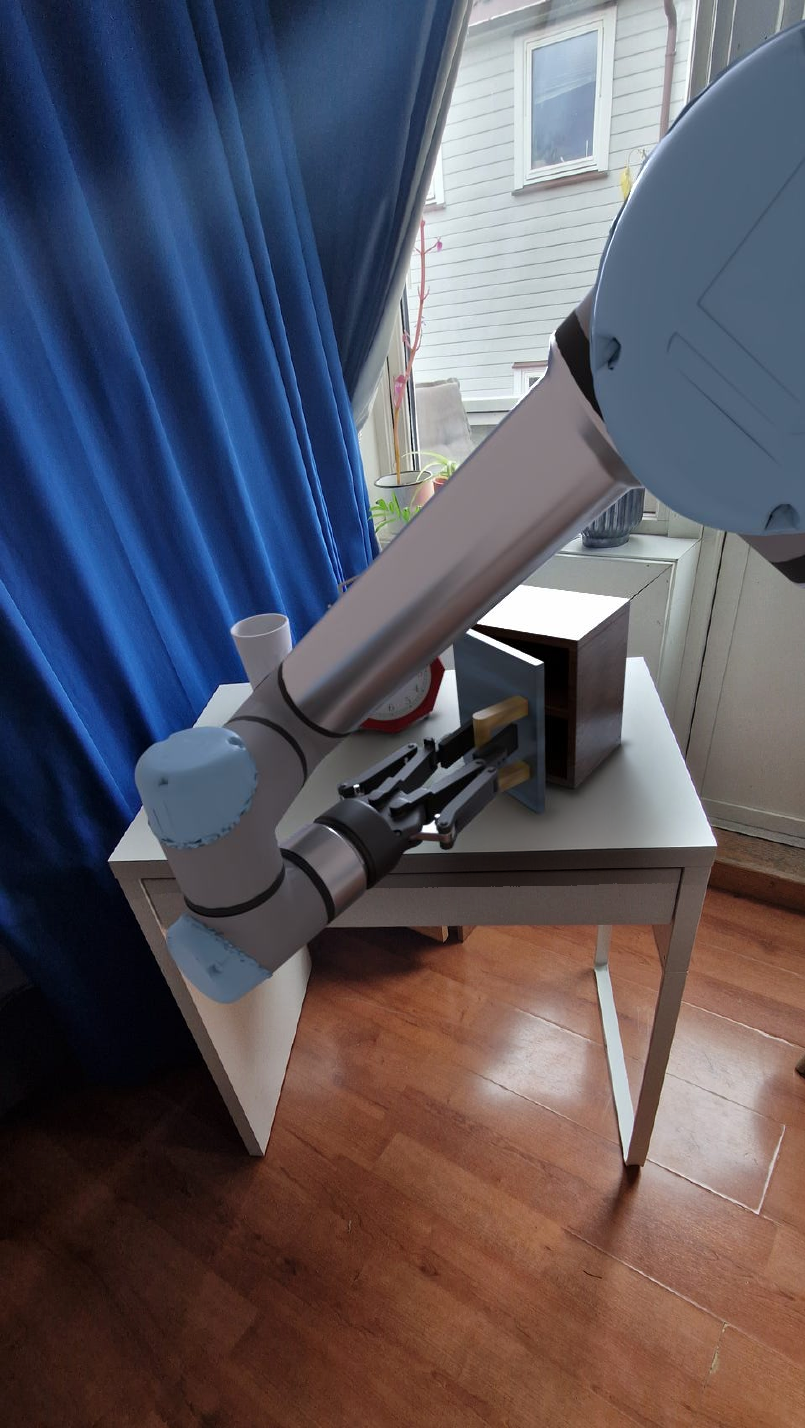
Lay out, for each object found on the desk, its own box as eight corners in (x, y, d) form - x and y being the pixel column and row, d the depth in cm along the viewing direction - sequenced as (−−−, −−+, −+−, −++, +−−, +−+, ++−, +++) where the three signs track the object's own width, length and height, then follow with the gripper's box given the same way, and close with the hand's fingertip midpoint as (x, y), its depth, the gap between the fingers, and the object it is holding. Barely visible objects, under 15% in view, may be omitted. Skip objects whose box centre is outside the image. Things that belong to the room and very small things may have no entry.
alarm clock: (339, 744, 94) (306, 589, 81) (335, 714, 100) (304, 567, 88) (451, 723, 94) (434, 566, 81) (439, 695, 101) (423, 545, 88)
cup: (312, 690, 107) (293, 611, 100) (301, 716, 101) (281, 634, 94) (261, 694, 109) (239, 616, 101) (247, 720, 103) (223, 639, 95)
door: (494, 835, 74) (484, 687, 64) (422, 780, 84) (403, 643, 74) (545, 810, 77) (544, 662, 66) (470, 759, 86) (458, 623, 76)
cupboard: (574, 789, 79) (578, 640, 68) (470, 758, 87) (458, 620, 76) (621, 742, 85) (630, 599, 74) (519, 718, 93) (515, 584, 82)
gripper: (284, 860, 68) (437, 744, 80) (419, 926, 58) (569, 783, 71) (263, 794, 63) (430, 681, 75) (406, 854, 54) (569, 715, 66)
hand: (497, 731), depth 73 cm, fingers open, 3 cm apart
